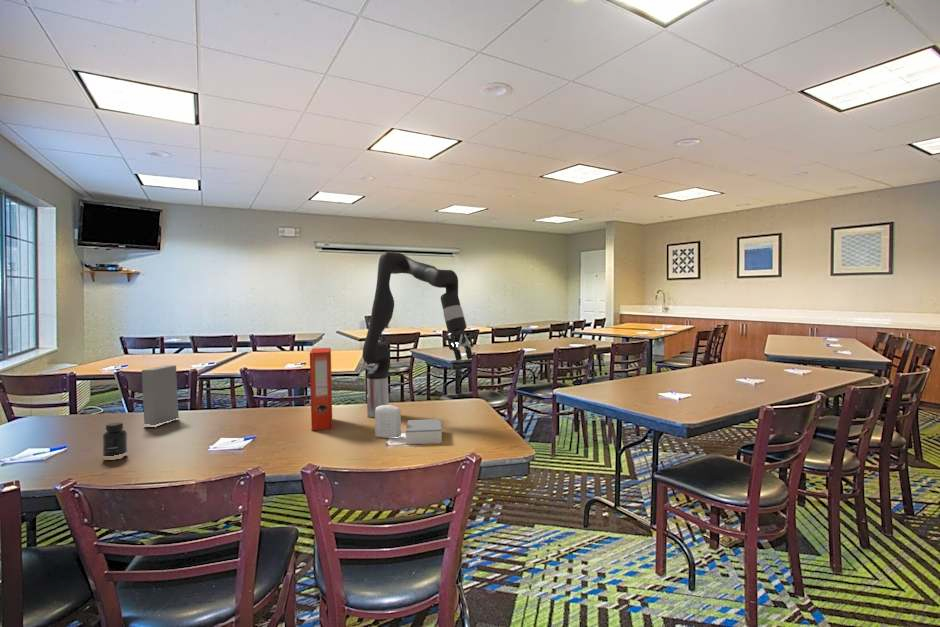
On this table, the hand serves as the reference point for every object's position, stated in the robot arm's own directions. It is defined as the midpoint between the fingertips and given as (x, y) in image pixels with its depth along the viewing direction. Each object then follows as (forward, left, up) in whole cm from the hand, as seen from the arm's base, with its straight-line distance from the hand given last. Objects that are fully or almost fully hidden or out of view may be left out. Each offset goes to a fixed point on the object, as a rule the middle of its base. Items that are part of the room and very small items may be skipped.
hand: (464, 359), depth 184 cm
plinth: (-16, 0, -29) cm, 34 cm away
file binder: (-60, +25, -30) cm, 71 cm away
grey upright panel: (-133, +37, -30) cm, 141 cm away
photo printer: (-30, +3, -30) cm, 42 cm away
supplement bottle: (-123, -9, -30) cm, 127 cm away
